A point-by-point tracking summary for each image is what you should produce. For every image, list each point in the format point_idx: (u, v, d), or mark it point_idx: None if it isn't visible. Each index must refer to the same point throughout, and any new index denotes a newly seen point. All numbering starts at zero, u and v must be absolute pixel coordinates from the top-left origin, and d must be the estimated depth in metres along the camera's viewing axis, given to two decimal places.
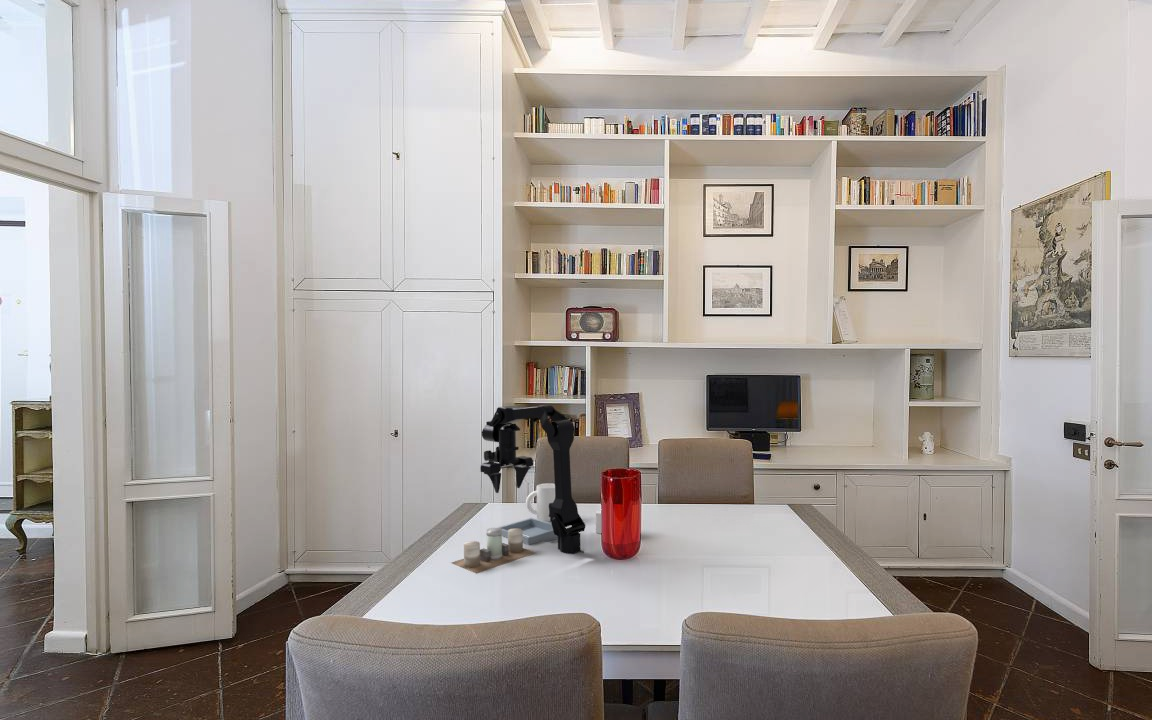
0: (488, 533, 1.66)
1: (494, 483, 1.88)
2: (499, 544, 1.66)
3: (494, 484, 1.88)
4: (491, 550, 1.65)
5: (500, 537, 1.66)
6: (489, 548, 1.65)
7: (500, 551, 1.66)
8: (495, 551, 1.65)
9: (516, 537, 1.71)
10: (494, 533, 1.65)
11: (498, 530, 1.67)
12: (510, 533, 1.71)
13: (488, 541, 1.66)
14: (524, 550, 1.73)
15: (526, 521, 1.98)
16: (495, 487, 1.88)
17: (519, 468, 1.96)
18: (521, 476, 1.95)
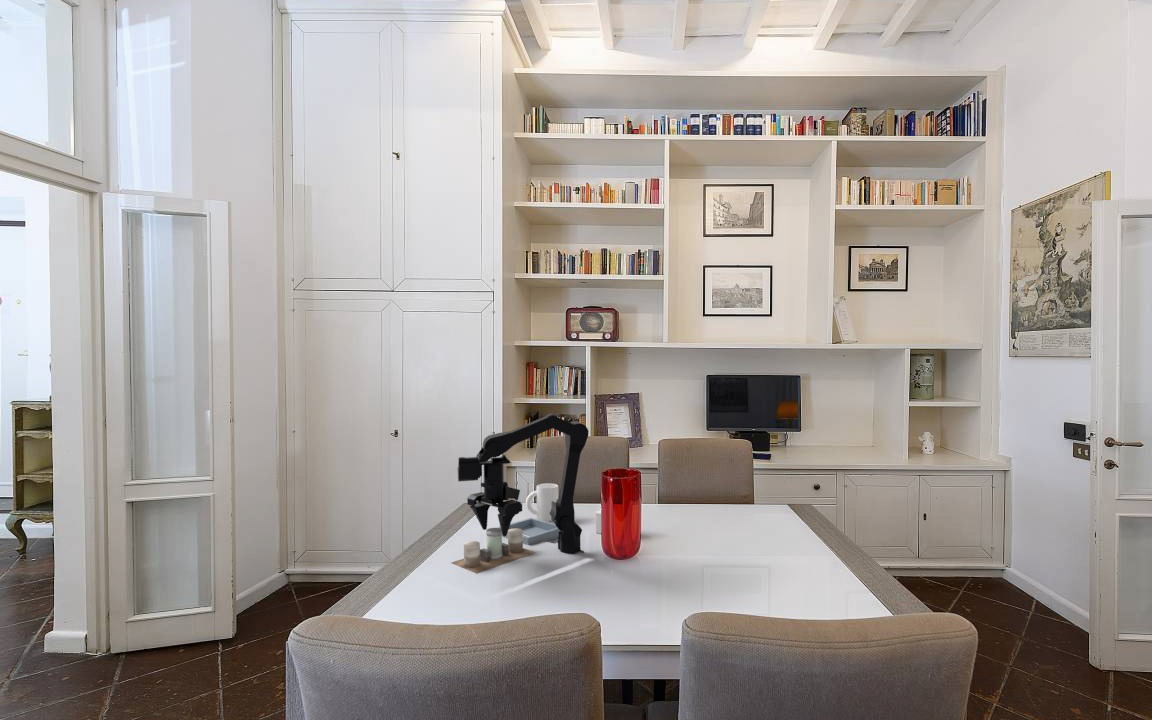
0: (488, 533, 1.66)
1: None
2: (499, 544, 1.66)
3: None
4: (491, 550, 1.65)
5: (500, 537, 1.66)
6: (489, 548, 1.65)
7: (500, 551, 1.66)
8: (495, 551, 1.65)
9: (516, 537, 1.71)
10: (494, 533, 1.65)
11: (498, 530, 1.67)
12: (510, 533, 1.71)
13: (488, 541, 1.66)
14: (524, 550, 1.73)
15: (526, 521, 1.98)
16: None
17: None
18: None
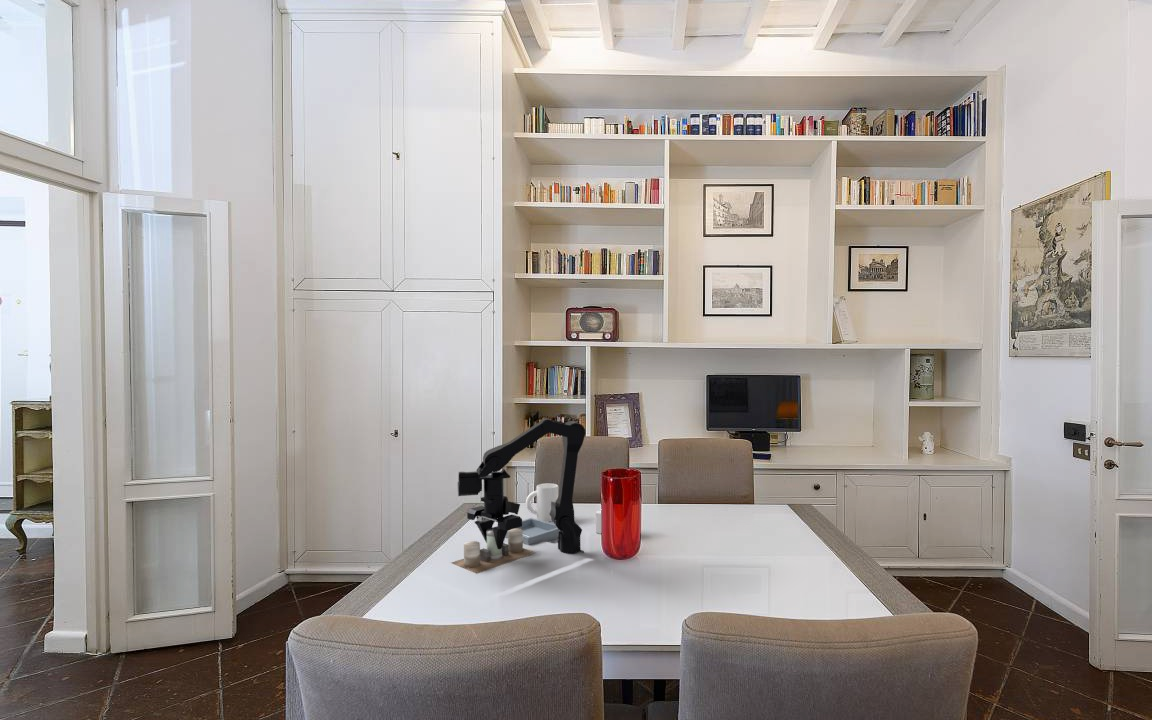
0: (488, 533, 1.66)
1: None
2: None
3: None
4: (491, 550, 1.65)
5: None
6: (489, 548, 1.65)
7: (500, 551, 1.66)
8: (495, 551, 1.65)
9: (516, 537, 1.71)
10: None
11: None
12: (510, 533, 1.71)
13: (488, 541, 1.66)
14: (524, 550, 1.73)
15: (526, 521, 1.98)
16: None
17: None
18: None
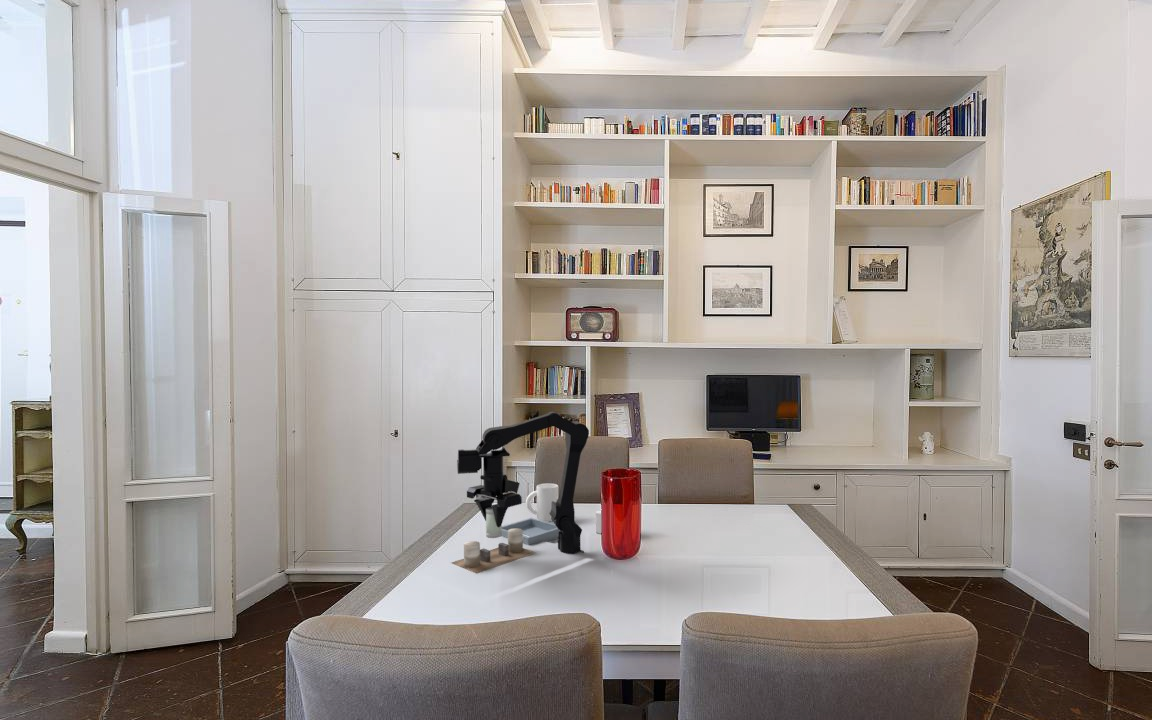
0: (487, 511, 1.65)
1: None
2: None
3: None
4: (490, 528, 1.65)
5: None
6: (488, 526, 1.65)
7: (499, 529, 1.66)
8: (495, 529, 1.65)
9: (516, 537, 1.71)
10: None
11: None
12: (510, 533, 1.71)
13: (487, 519, 1.66)
14: (524, 550, 1.73)
15: (526, 521, 1.98)
16: None
17: None
18: None
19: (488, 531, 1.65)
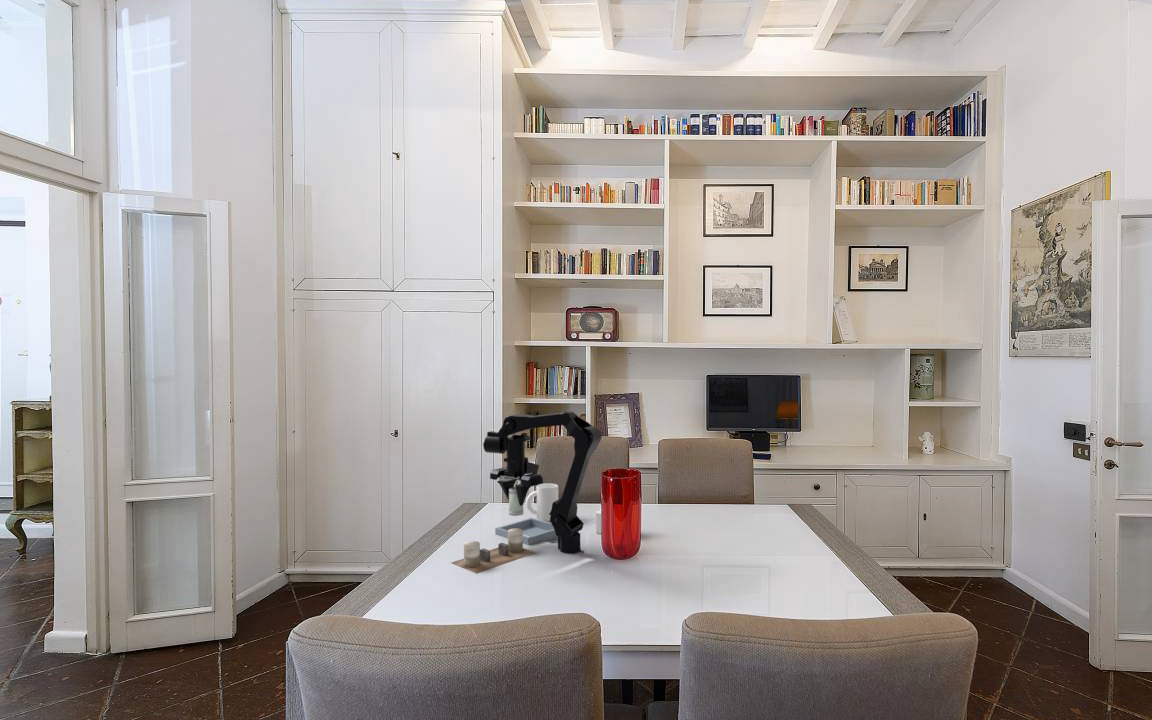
0: (511, 491, 1.79)
1: None
2: None
3: None
4: (513, 506, 1.78)
5: None
6: (511, 505, 1.79)
7: (522, 507, 1.80)
8: (517, 507, 1.79)
9: (516, 537, 1.71)
10: None
11: None
12: (510, 533, 1.71)
13: (510, 498, 1.79)
14: (524, 550, 1.73)
15: (526, 521, 1.98)
16: None
17: None
18: None
19: (511, 509, 1.79)
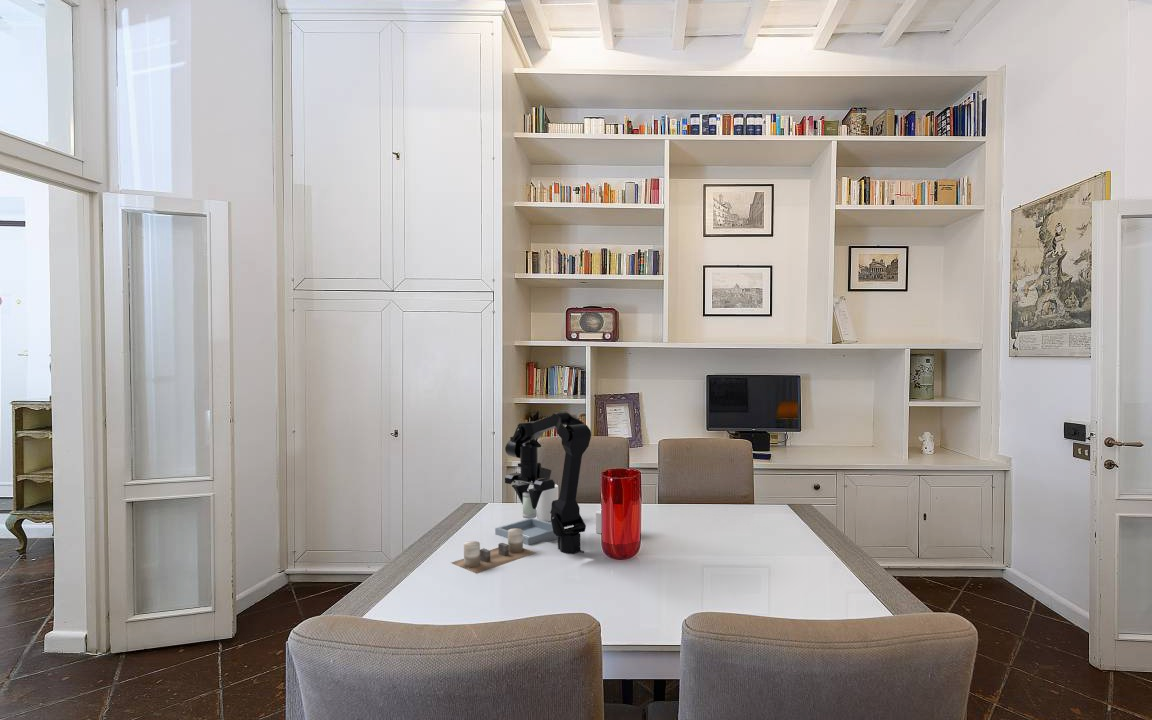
0: (524, 495, 1.88)
1: None
2: None
3: None
4: (527, 509, 1.87)
5: None
6: (525, 508, 1.87)
7: (535, 511, 1.88)
8: (531, 510, 1.87)
9: (516, 537, 1.71)
10: (529, 494, 1.87)
11: None
12: (510, 533, 1.71)
13: (524, 502, 1.88)
14: (524, 550, 1.73)
15: (526, 521, 1.98)
16: None
17: None
18: None
19: (525, 512, 1.88)
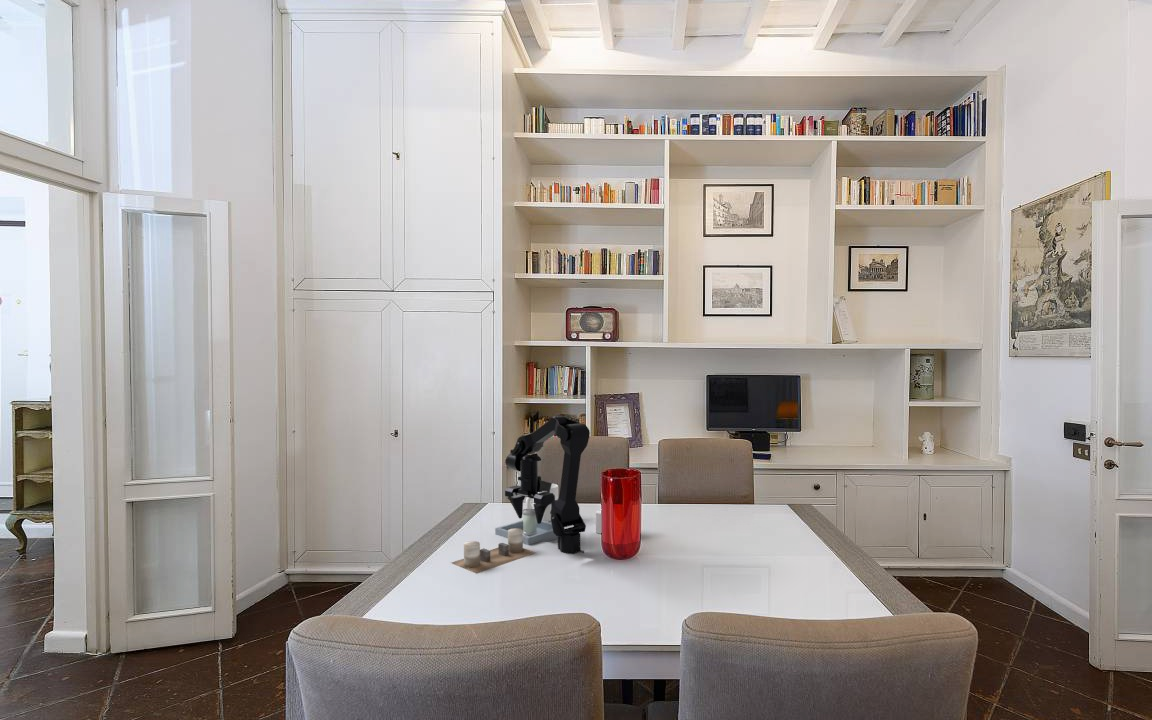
0: (525, 512, 1.88)
1: None
2: (534, 522, 1.88)
3: None
4: (527, 527, 1.87)
5: (535, 516, 1.89)
6: (525, 526, 1.88)
7: (535, 529, 1.88)
8: (531, 528, 1.87)
9: (516, 537, 1.71)
10: (530, 512, 1.87)
11: (533, 510, 1.89)
12: (510, 533, 1.71)
13: (524, 519, 1.88)
14: (524, 550, 1.73)
15: None
16: None
17: None
18: None
19: (525, 530, 1.88)
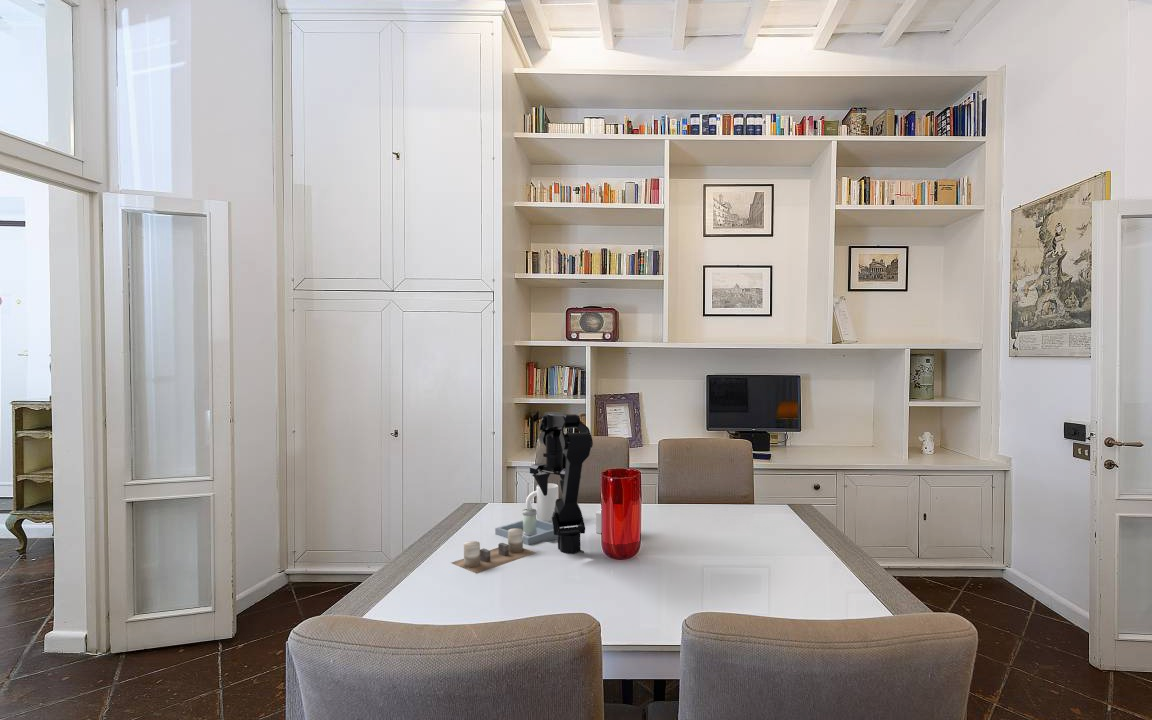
0: (524, 513, 1.88)
1: None
2: (534, 522, 1.88)
3: None
4: (527, 528, 1.87)
5: (534, 516, 1.88)
6: (525, 526, 1.88)
7: (535, 529, 1.88)
8: (531, 528, 1.87)
9: (516, 537, 1.71)
10: (529, 512, 1.87)
11: (533, 510, 1.89)
12: (510, 533, 1.71)
13: (524, 520, 1.88)
14: (524, 550, 1.73)
15: None
16: None
17: None
18: None
19: (525, 530, 1.88)
